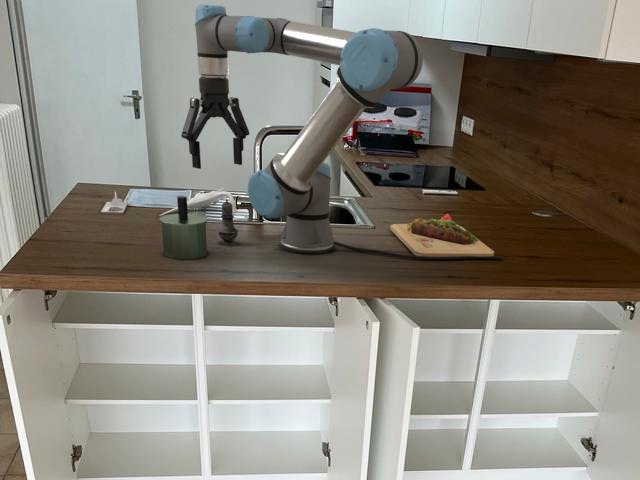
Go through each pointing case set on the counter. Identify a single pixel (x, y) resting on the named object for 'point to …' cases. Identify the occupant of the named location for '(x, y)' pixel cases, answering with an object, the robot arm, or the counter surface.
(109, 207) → the car cutout
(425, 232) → the cutting board
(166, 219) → the pot lid
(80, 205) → the counter surface
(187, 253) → the pot
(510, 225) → the counter surface
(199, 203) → the dinosaur
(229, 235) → the dark grey tall piece
